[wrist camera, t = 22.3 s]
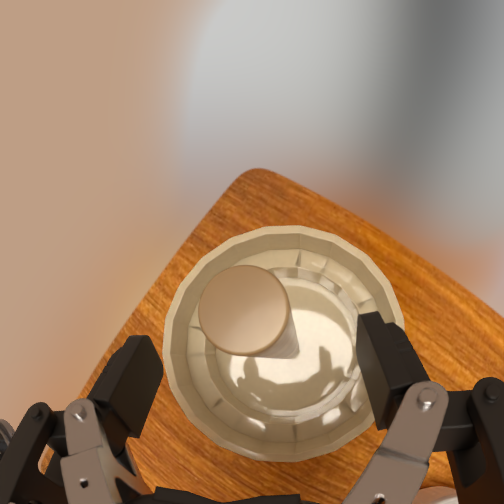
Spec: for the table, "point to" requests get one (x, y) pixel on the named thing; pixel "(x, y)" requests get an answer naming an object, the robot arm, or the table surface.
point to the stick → (248, 314)
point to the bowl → (281, 370)
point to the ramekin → (436, 496)
